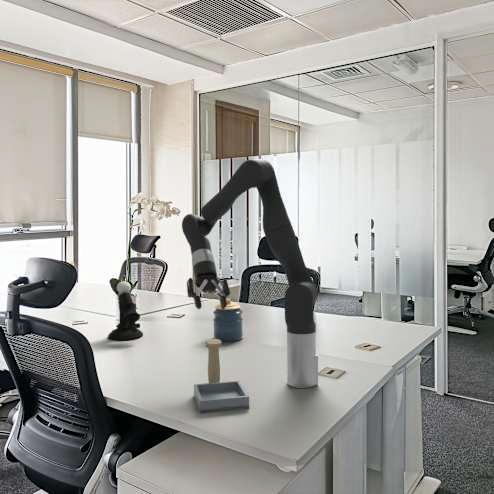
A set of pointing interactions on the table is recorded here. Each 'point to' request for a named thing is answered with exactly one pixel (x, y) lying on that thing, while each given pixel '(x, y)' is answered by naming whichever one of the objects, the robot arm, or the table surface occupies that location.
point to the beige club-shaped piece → (213, 360)
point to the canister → (228, 322)
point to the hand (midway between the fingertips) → (211, 308)
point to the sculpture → (126, 316)
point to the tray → (220, 396)
